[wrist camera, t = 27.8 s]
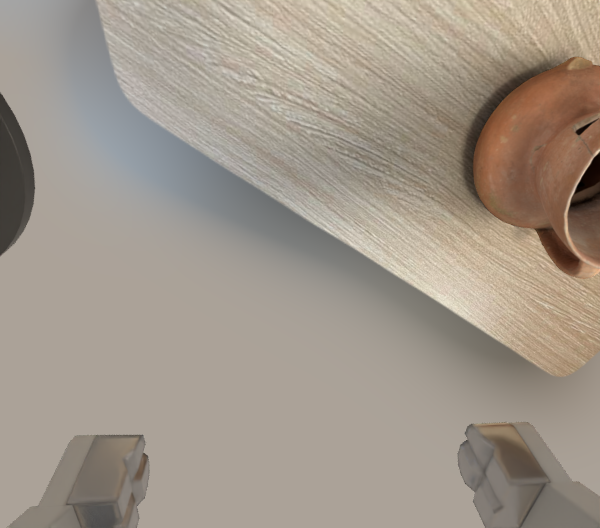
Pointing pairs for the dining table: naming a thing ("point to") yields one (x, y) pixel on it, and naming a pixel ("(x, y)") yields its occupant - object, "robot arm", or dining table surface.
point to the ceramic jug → (548, 163)
